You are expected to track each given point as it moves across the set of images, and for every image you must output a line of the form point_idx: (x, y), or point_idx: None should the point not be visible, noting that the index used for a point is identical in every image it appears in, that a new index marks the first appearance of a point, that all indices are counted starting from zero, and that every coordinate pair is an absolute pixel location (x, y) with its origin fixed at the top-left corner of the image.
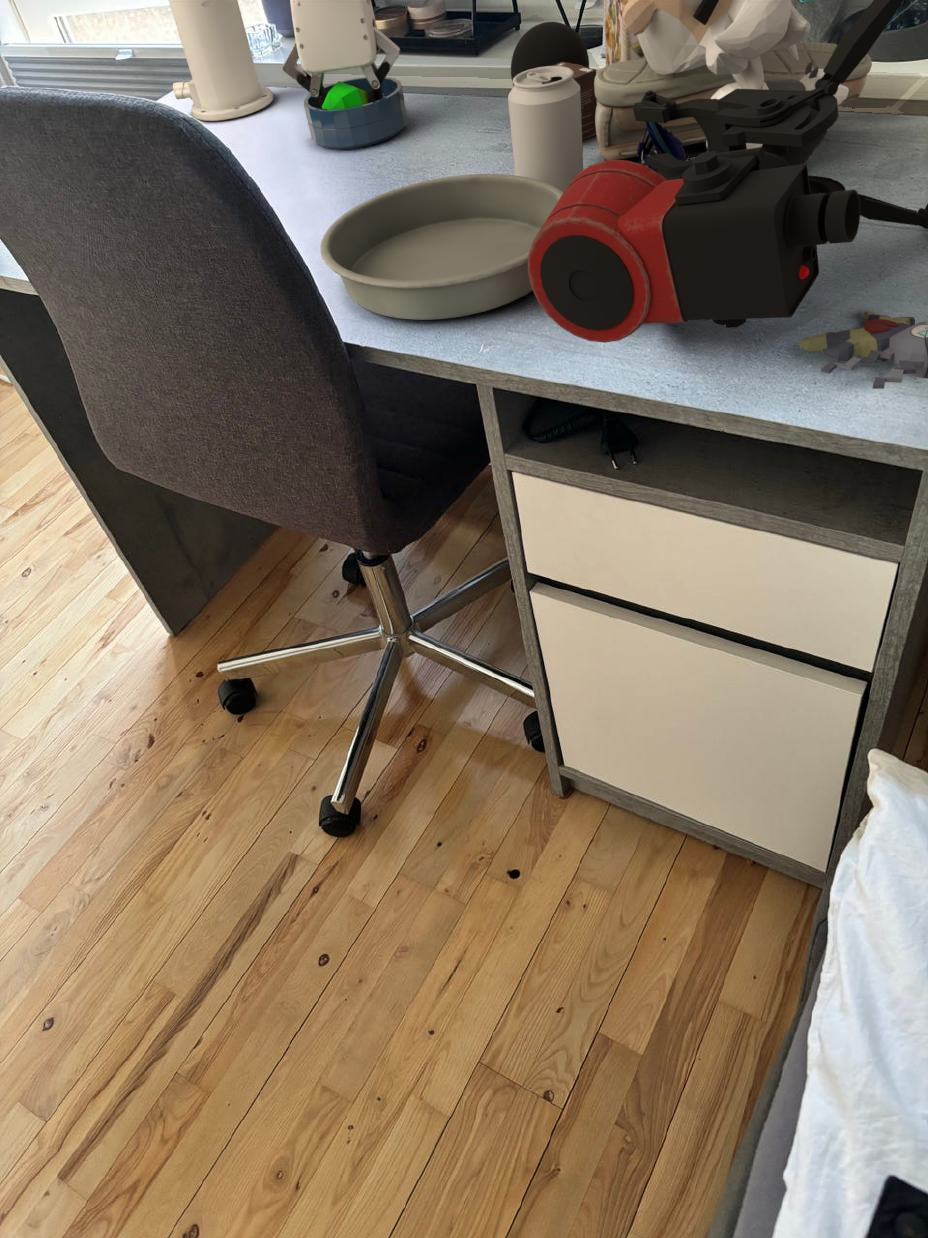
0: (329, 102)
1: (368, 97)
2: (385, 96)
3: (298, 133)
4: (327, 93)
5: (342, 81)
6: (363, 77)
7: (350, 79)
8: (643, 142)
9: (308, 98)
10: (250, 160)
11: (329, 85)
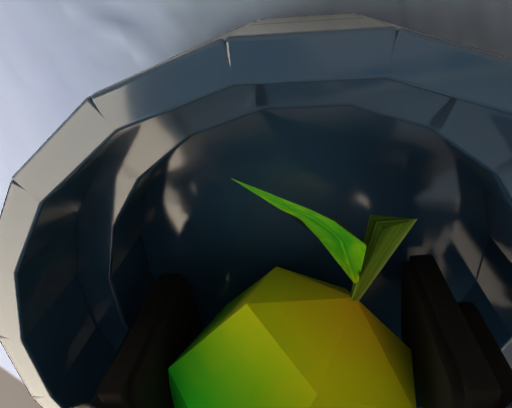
0: None
1: (413, 393)
2: (466, 107)
3: (5, 187)
4: (144, 389)
5: (99, 124)
6: (294, 45)
7: (161, 85)
8: None
9: (44, 383)
10: (3, 366)
11: (32, 200)
